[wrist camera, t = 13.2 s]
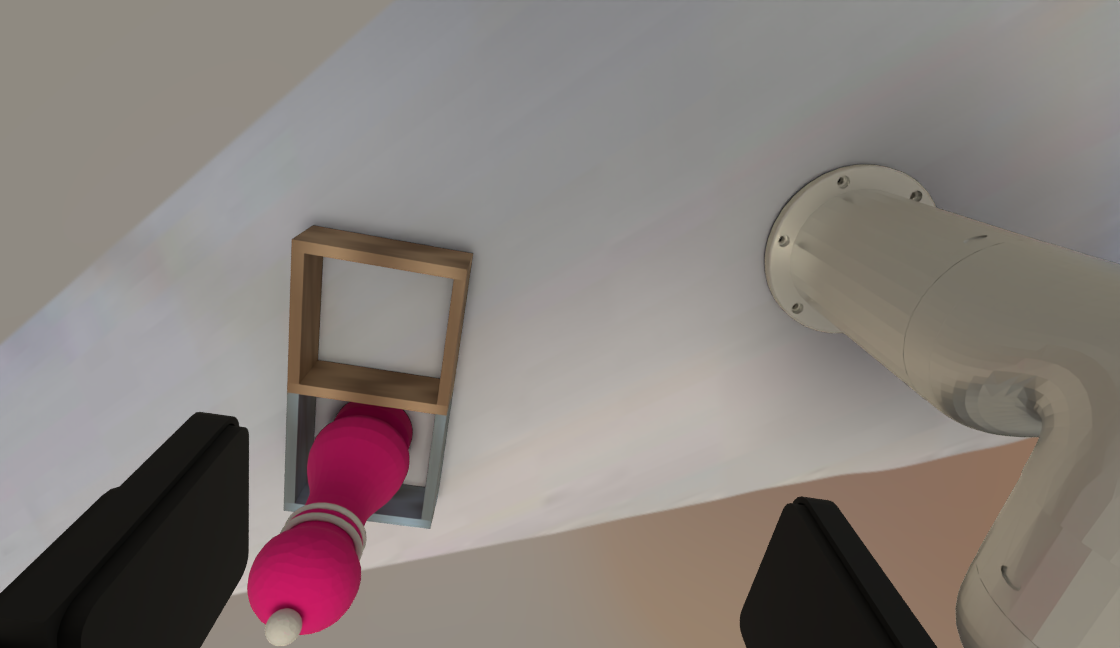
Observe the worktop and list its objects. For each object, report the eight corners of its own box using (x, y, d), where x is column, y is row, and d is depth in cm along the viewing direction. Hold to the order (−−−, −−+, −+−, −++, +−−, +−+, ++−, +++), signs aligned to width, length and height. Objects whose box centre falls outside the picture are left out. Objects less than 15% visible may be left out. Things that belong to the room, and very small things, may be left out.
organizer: (473, 253, 44) (467, 269, 40) (437, 496, 52) (430, 528, 48) (313, 225, 42) (291, 239, 39) (302, 478, 50) (283, 510, 47)
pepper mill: (327, 460, 50) (205, 684, 31) (330, 384, 47) (200, 580, 29) (414, 471, 51) (345, 696, 32) (423, 397, 48) (353, 596, 29)
